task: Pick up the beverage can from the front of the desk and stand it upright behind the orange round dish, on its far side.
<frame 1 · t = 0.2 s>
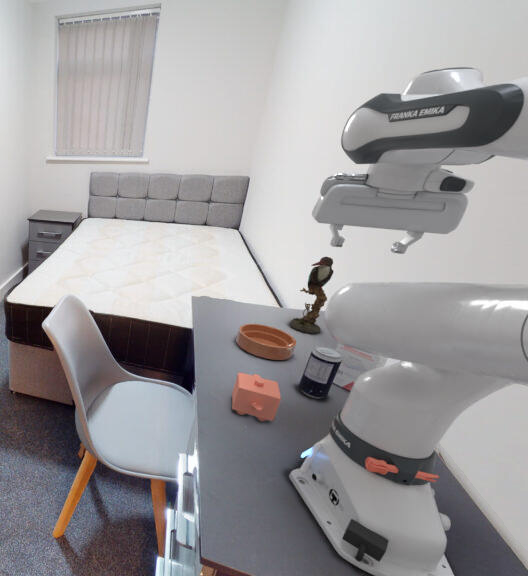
hand: (365, 249, 71), 38 cm above the table, tool pointing down, fingers open, 8 cm apart
white box: (336, 367, 102), on the table
beverage can: (311, 393, 91), on the table
ink cartridge box: (347, 385, 94), on the table
sculpture: (302, 329, 122), on the table
pink cube teapot: (250, 412, 84), on the table
orange round dish: (262, 348, 110), on the table
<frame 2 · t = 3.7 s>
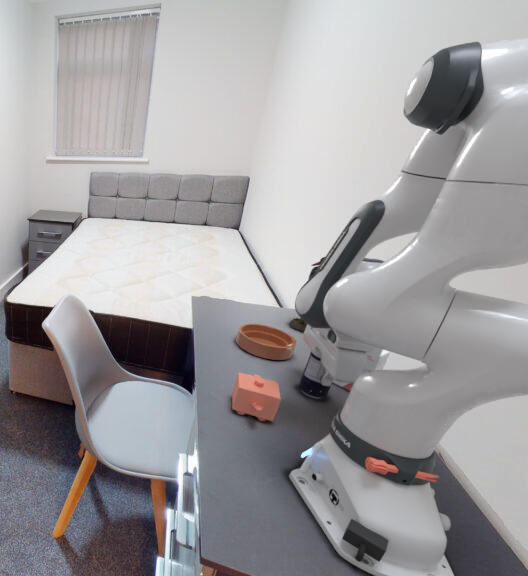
hand: (318, 375, 89), 5 cm above the table, tool pointing down, fingers closed on beverage can, 5 cm apart
beverage can: (311, 393, 91), on the table, touching gripper
everything else where it was.
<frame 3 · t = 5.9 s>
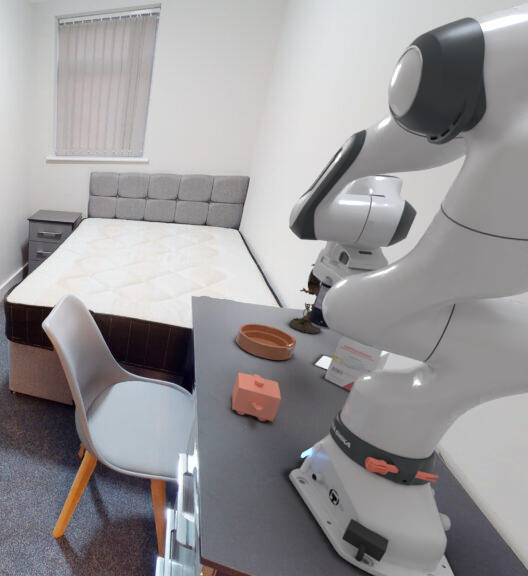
hand: (329, 306, 87), 21 cm above the table, tool pointing down, fingers closed on beverage can, 5 cm apart
beverage can: (321, 326, 89), point 16 cm above the table, touching gripper
everything else where it was.
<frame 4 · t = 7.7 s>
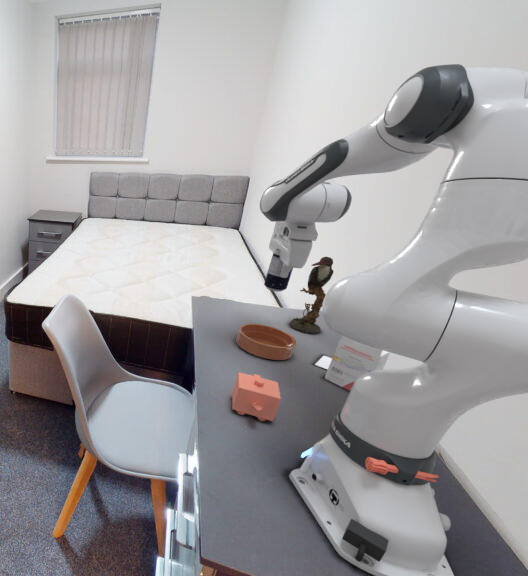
hand: (279, 273, 109), 21 cm above the table, tool pointing down, fingers closed on beverage can, 5 cm apart
beverage can: (274, 289, 111), point 16 cm above the table, touching gripper
everything else where it was.
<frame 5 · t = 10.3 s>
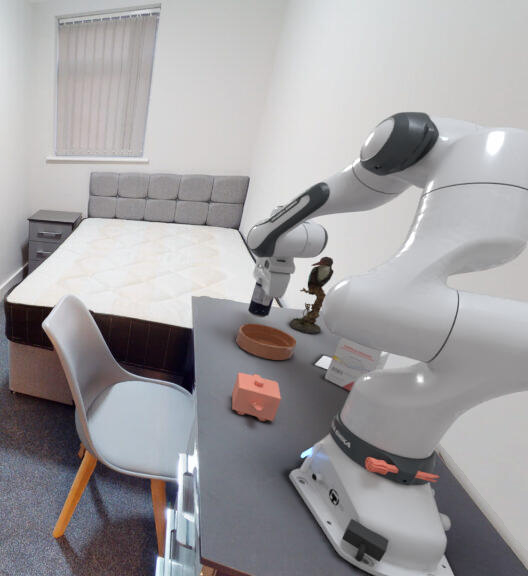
hand: (261, 300, 117), 11 cm above the table, tool pointing down, fingers closed on beverage can, 5 cm apart
beverage can: (257, 315, 119), point 5 cm above the table, touching gripper
everything else where it was.
when the fingers open (5 cm above the table, at t = 12.1 s): beverage can stays where it is, on the table.
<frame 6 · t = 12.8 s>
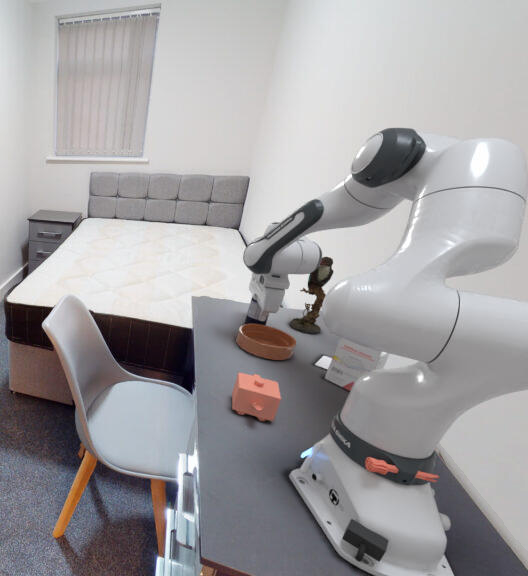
hand: (257, 313, 119), 6 cm above the table, tool pointing down, fingers open, 8 cm apart
beverage can: (253, 329, 121), on the table
everything else where it was.
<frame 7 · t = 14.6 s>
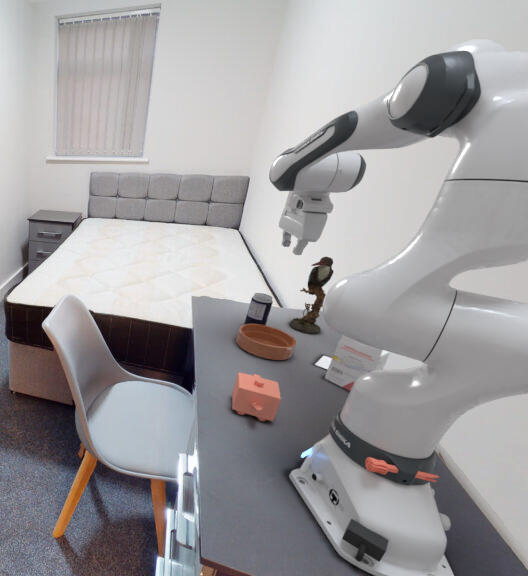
hand: (290, 250, 105), 29 cm above the table, tool pointing down, fingers open, 8 cm apart
nothing on the table moved.
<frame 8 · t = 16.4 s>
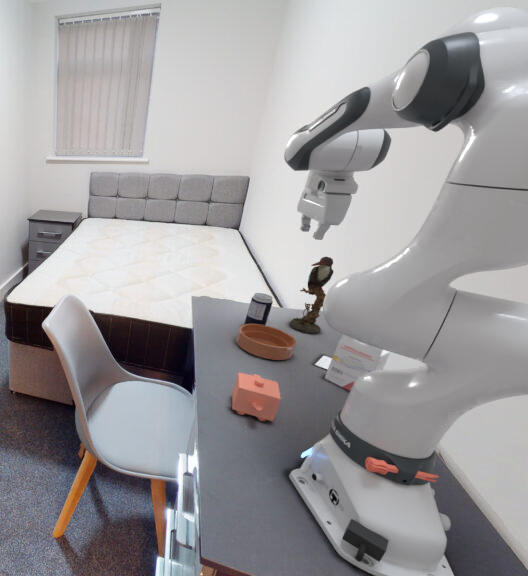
hand: (310, 235, 100), 34 cm above the table, tool pointing down, fingers open, 8 cm apart
nothing on the table moved.
at the end: beverage can inside the target area on the table beside the orange round dish (0.8 cm from its centre), on the table; beverage can tilted 0° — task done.
